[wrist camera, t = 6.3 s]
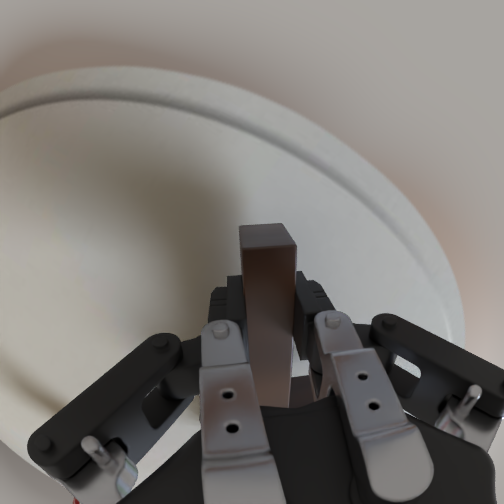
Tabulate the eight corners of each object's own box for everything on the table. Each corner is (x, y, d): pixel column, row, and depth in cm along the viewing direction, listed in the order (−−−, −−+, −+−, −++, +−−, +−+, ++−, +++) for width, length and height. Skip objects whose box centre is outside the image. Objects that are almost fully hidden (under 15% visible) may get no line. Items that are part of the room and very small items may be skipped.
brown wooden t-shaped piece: (173, 230, 12) (156, 254, 9) (343, 220, 13) (372, 240, 10) (204, 394, 16) (202, 430, 13) (323, 383, 17) (335, 416, 14)
